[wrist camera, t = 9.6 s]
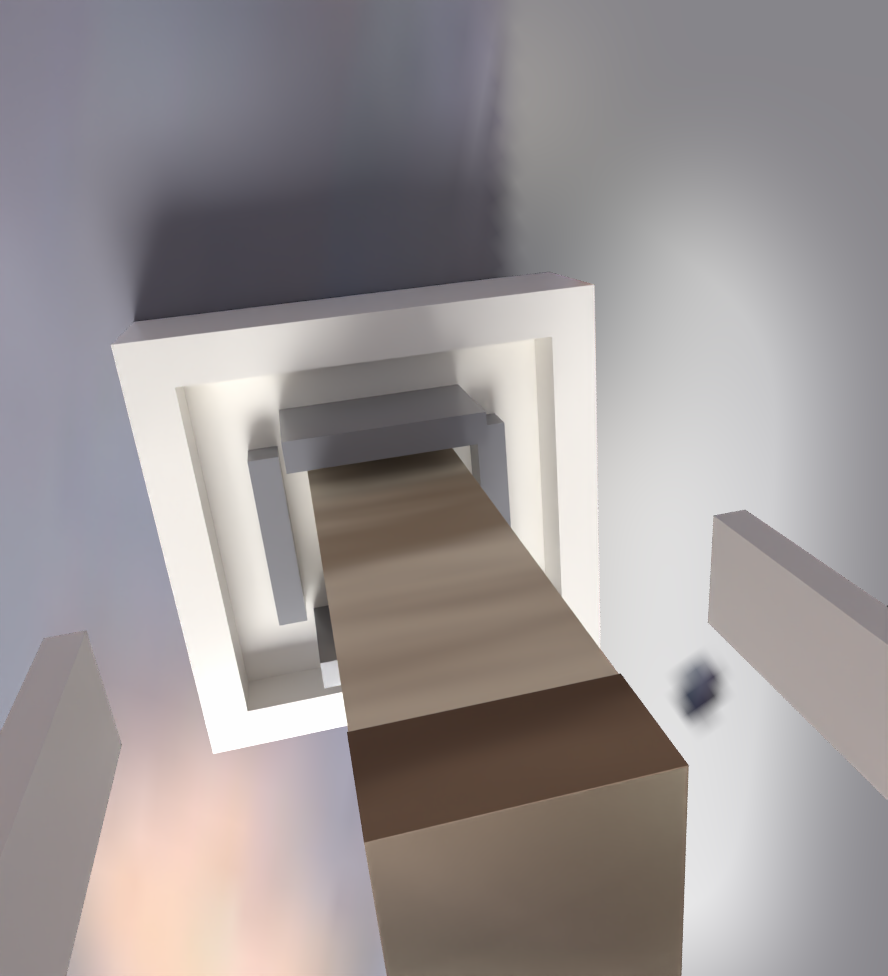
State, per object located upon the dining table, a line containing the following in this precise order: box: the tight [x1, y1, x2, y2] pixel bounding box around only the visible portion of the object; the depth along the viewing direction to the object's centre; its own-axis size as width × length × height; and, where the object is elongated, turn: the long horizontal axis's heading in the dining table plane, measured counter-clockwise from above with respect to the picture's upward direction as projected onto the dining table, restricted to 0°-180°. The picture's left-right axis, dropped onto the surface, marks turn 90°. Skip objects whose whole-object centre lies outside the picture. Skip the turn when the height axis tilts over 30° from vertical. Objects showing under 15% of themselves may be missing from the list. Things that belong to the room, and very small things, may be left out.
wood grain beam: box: [307, 448, 689, 976], centre depth 16 cm, size 4×4×14 cm
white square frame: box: [111, 272, 600, 754], centre depth 22 cm, size 12×12×5 cm
